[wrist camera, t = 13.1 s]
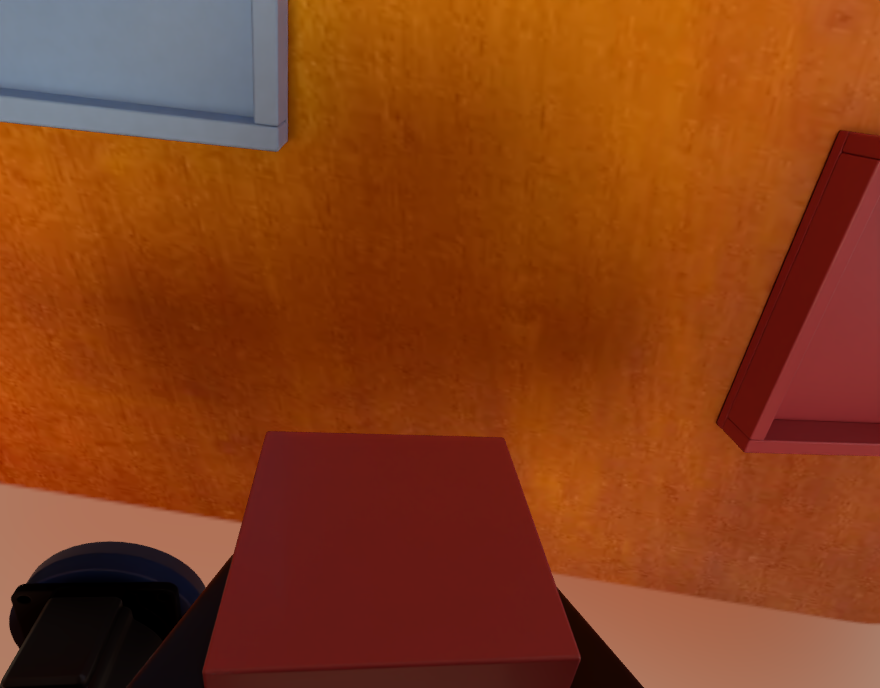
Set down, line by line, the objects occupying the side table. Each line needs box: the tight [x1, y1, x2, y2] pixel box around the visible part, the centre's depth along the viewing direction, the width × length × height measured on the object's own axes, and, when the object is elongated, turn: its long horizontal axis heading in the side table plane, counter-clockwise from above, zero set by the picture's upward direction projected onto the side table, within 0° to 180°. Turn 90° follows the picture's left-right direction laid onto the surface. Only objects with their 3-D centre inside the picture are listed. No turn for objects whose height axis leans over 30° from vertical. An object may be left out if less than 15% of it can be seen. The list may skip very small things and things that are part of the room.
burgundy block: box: [202, 431, 581, 688], centre depth 8 cm, size 4×4×4 cm
